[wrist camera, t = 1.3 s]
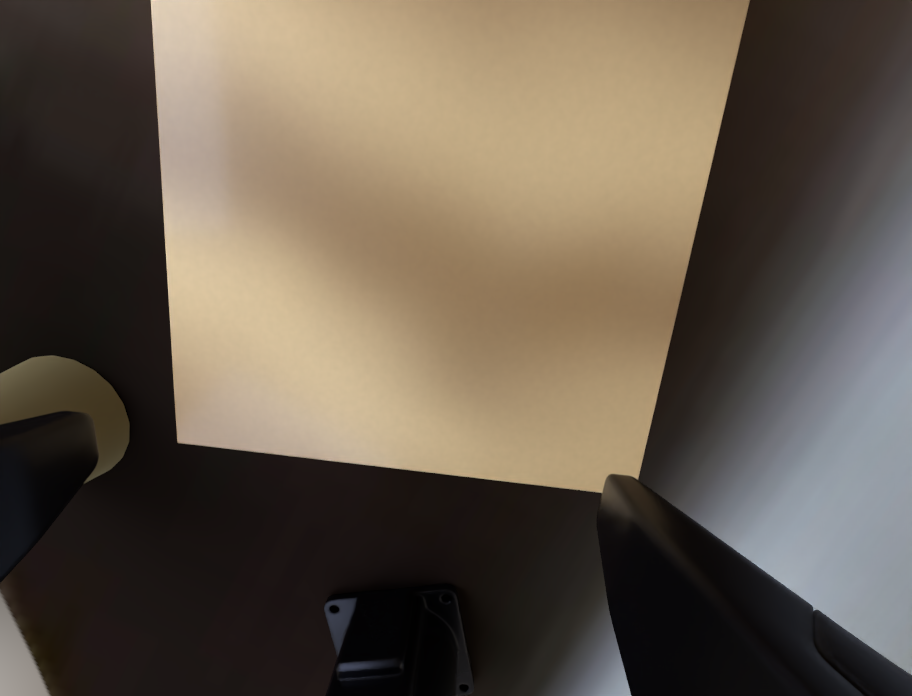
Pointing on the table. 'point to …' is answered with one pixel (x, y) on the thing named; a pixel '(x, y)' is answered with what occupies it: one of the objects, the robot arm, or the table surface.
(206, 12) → the cabinet
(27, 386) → the cork
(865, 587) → the table surface
